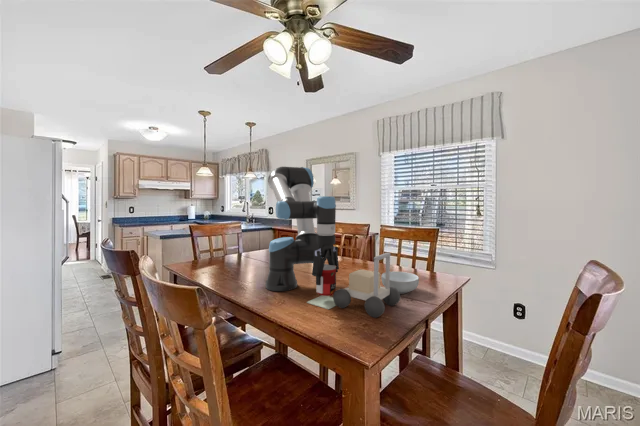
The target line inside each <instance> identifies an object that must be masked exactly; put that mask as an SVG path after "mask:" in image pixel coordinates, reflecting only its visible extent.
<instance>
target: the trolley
mask: <svg viewBox="0 0 640 426" xmlns="http://www.w3.org/2000/svg"><path fill="white" fill-rule="evenodd" d="M391 256H392V255H391V252H385V253H382V254H380V255H377V256H374V257H373V270H367V269H362V268H361V269H358V270H355V271H352V272H350V273H349V274H348V286H346V287H345V288H339V289H336V291H335V292H334V295H332V297H333V300H334V302H335V304H336V305H337V306H336V307H338V308H340V309H344V308H346V307H349V305H350V304H351V301H352V298H355V299H359V300H363V301H365V302H364V310H365V312H366V313H367V315H369V317H372V318H374V319H375V318H379V317H380V316H382V315H383V314H384V313H385V310H386V307H385V304H386V305H388V306H390V307H391V306H396V305H397V304H399V302H400V301H401V293H399V291H398V290H397V289H396V288H394V287H390V272H391ZM383 259H385V273H386V282H385V286H381V272H379V267H380V265H379V261H381V260H383Z"/></svg>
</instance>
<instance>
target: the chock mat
mask: <svg viewBox="0 0 640 426" xmlns="http://www.w3.org/2000/svg"><path fill="white" fill-rule="evenodd" d="M306 303H307V304H309V305H312V306H316V307H320V308H322V309H325V310H330V309H332V308H335V307H338V306H337V305H336V304H335V302H334V300H333V296H322V295H319V296H317V297H315V298H313V299H311V300H308V301H306Z"/></svg>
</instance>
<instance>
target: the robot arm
mask: <svg viewBox="0 0 640 426" xmlns="http://www.w3.org/2000/svg"><path fill="white" fill-rule="evenodd" d="M314 179H315V178H314V174H313V172H312V170H311V168H309V167H304V166H301V167H300V166H298V167H297V166H279V167H277V168H275V169H273V170H272V171H271V172H270V173H269V175H268V178H267V182H268V183H267V184H268V186H269V188H270V189H271V190H272V191H273V193H274V196H275V200H276V201H277V202H276V203H275V216H276V218H277V219H279V220H296V227H297V235H296V236H295V239H294V237H293V236H292V237H291V236H287V237H286V236H284V237H278V238H275V239H273V240H271V241H270V242H269V247H268V257H269V259H268V269H269V270H268V274H267V278H266V281H265V288H266V289H267V290H269V291H273V292H288V291H293V290H294V289H296V288H298V281H297V278H296V274H295V271H294V269H295V268H294V266H295V265H300V264H304V265H305V264H312V270H311V271H312V273H311V275H312V277H315V285H316V290H315V291H316V294H318V293H321V294H322V293H323V277H321V276H322V272H323V268H324V264H326V263H325V262H326V261H327V263H328V264H329V265H334V266H336V273H338V272H339V269H340V267H339V266H340V265H339V256H338V250H339V247H338V246H334V245H335V244H336V235H335V234H336V215H337V214H336V213H337V210H336V209H337V205H336V198H335V196H333V195H331V196H326V195H325V196H323V195H322V196H321V195H320V196H317V198H316V201H315V200H313V201H311V198H310V192H311V191H312V189H313V187H314ZM314 219H316V229H315V224H314V223H315V222H314Z"/></svg>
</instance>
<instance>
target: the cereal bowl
mask: <svg viewBox="0 0 640 426" xmlns="http://www.w3.org/2000/svg"><path fill="white" fill-rule="evenodd" d="M380 280H381V283H382V285H383V287H385V282H386V272H383V273H382V274H381V275H380ZM419 281H420V277H419V276H418V275H417V274H415V273H412V272H406V271H398V270H397V271H390V287H394V288H396V289H397V290H398V291H399V293H400V295H402V294H408V293H409V292H412V291H414V290H416V289H417V288H418V286H419V285H420V284H419V283H420V282H419Z"/></svg>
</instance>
